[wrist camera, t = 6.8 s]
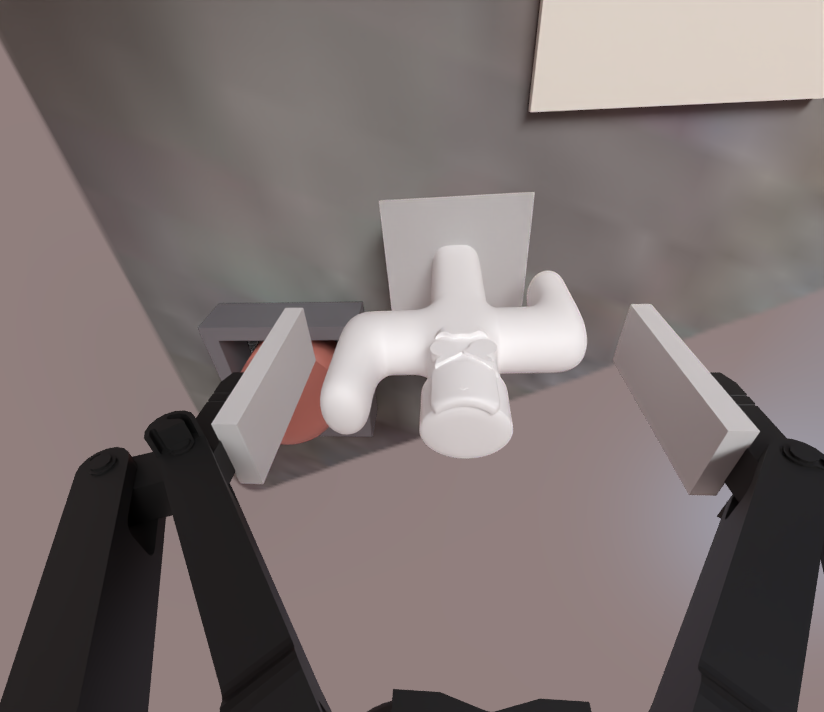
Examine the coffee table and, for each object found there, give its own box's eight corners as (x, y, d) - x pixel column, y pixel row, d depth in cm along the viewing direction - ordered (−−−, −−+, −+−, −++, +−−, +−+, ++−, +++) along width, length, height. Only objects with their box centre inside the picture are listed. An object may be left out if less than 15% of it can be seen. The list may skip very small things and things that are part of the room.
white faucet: (528, 292, 25) (605, 506, 13) (382, 297, 26) (333, 502, 14) (543, 171, 21) (676, 328, 9) (367, 181, 22) (278, 338, 10)
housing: (218, 303, 27) (197, 327, 25) (362, 301, 26) (354, 326, 24) (259, 407, 33) (245, 435, 31) (377, 408, 33) (372, 436, 30)
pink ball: (246, 321, 28) (198, 388, 22) (344, 320, 27) (319, 389, 22) (272, 394, 32) (237, 465, 27) (357, 394, 32) (339, 467, 26)
